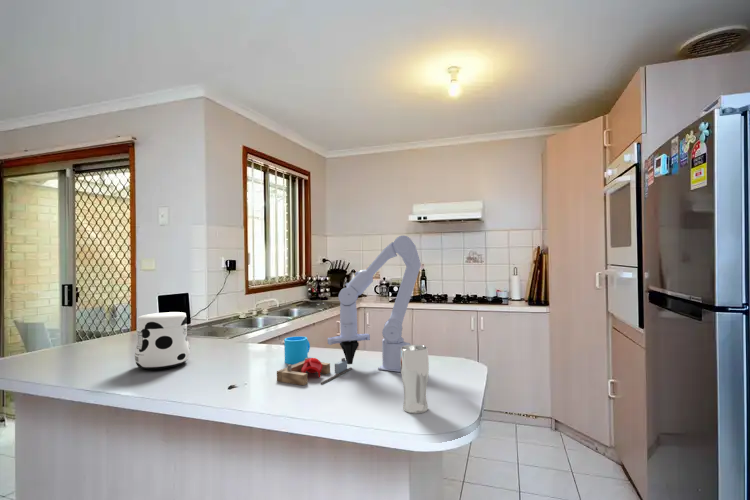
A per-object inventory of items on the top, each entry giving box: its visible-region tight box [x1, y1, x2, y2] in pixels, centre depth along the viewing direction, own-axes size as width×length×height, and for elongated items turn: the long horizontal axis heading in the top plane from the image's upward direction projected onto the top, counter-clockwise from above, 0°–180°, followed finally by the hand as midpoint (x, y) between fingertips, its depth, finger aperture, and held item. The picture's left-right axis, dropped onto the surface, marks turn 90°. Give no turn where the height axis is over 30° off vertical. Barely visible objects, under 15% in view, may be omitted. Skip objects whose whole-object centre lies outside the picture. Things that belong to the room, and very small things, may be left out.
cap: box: [301, 357, 323, 378], centre depth 128 cm, size 8×6×6 cm
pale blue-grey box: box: [334, 357, 348, 374], centre depth 132 cm, size 2×5×4 cm, turn 152°
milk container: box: [134, 311, 191, 370], centre depth 144 cm, size 17×17×18 cm
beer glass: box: [400, 344, 430, 415], centre depth 99 cm, size 7×7×15 cm
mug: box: [283, 335, 311, 365], centre depth 148 cm, size 12×8×8 cm
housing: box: [276, 358, 352, 386], centre depth 129 cm, size 14×20×4 cm
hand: (349, 363), depth 136 cm, fingers closed
